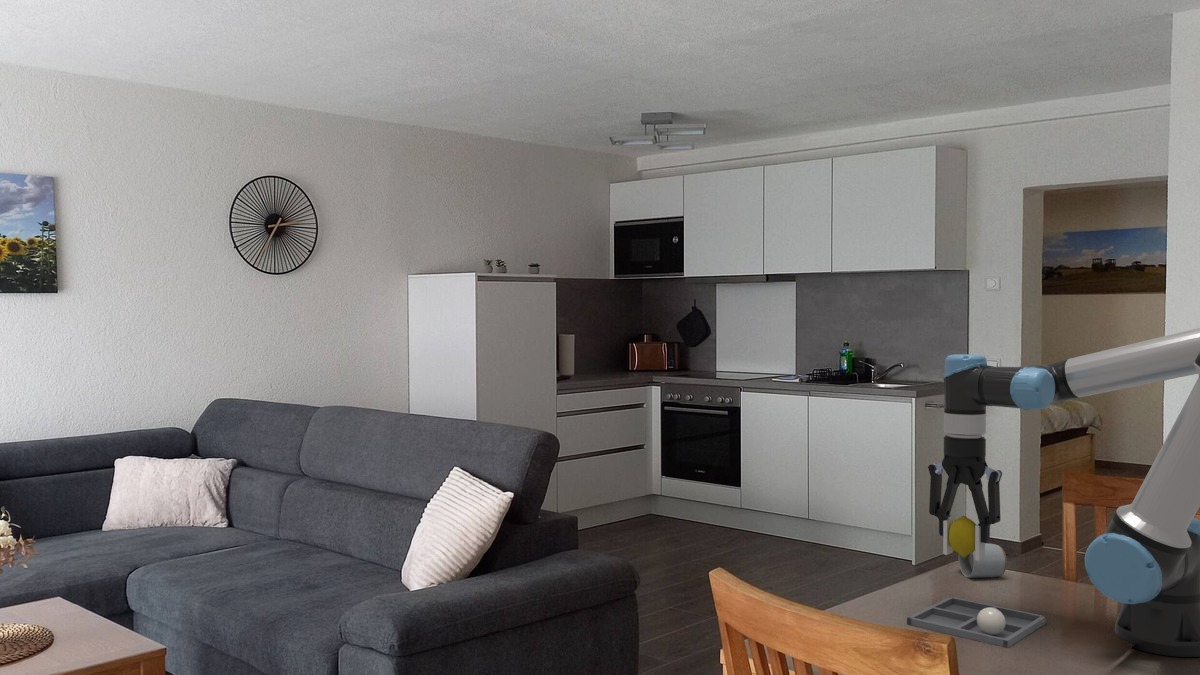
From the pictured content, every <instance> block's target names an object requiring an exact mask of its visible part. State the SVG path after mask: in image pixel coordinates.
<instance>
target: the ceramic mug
mask: <svg viewBox="0 0 1200 675" xmlns="http://www.w3.org/2000/svg"><path fill="white" fill-rule="evenodd" d="M1007 559H1008V558H1007V555H1006V552H1005V550H1004V548H1003V547H1001V545H998V544H994V543H989V542H987V543H985V558H984V559H982V560H979V561H978V560H975V551H974V552H973V553H971V554H968V555H967V556H966V557H962V556H961V555H960V554H959V553H958V565H959V568H960V569H959V570H960V571H961V573H962V575H963V576H964V577H965V578H968V579H969V578H971V579H973V578H975V579H976V578H998V577H1001V576H1003V575H1004V573H1005V572H1006V570H1007V566H1008V562H1007Z"/></svg>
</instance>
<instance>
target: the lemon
mask: <svg viewBox="0 0 1200 675" xmlns="http://www.w3.org/2000/svg"><path fill="white" fill-rule="evenodd" d="M976 525H977V524H976V522H975V521H974V520H972V519H971V518H969V517H967V516H966V515H962V516H961V517H959V518H956V519H954V520H953V523H952V524H951V526H950V530H949V542H950V545H951V547H952V548H953V552H956V553H957V554H958V555H959V554H960V555H961V556H962V557H966V556H967V555H968V554H971V553H973V552H974V551H975V526H976Z"/></svg>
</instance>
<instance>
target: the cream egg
mask: <svg viewBox="0 0 1200 675" xmlns="http://www.w3.org/2000/svg"><path fill="white" fill-rule="evenodd" d="M977 624H978V627H979V628H980V630H981V631H982V632H984V633H985V634H988V635H998V634H1000V633H1001V632H1002V631H1003V630H1004V628H1005V625H1006V621H1005V617H1004V615H1003V614H1002V613H1001V612H1000V611H999V610H998V609H995V608H992V607H988V608H984V609H982V610H981V611H980V612H979V613H978V616H977Z"/></svg>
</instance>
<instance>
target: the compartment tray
mask: <svg viewBox="0 0 1200 675" xmlns="http://www.w3.org/2000/svg"><path fill="white" fill-rule="evenodd" d="M988 607H992V608H995V609H998V610H999V611H1000V612H1001V613H1002V614H1003V615H1004V617H1005V621H1006V625H1005V628H1004V630H1003V631H1002V632H1001V633H1000V634H998V635H988V634H985V633H984V632H982V631H981V630H980V628H979V627H978V624H977V616H978V613H979V612H980V611H981V610H982V609H984V608H988ZM1047 623H1048V617H1047V615H1042V614H1036V613H1033V612H1028V611H1022V610H1017V609H1013V608H1007V607H1003V606H997V605H994V604H993V605H992V604H988V603H984V602H979V601H973V600H969V599H964V598H959V597H955V596H948V597H947V598H944V599H943V600H940V601H938V602H936V603H934V604H932V605H930V606H928V607H926V608H924V609H922V610H920V611H918V612H916V613H914V614H912V615H910V616H908V617H906V625H909V626H913V627H916V628H921V629H926V630H929V631H933V632H937V633H943V634H947V635H951V636H955V637H959V638H963V639H967V640H972V641H977V642H980V643H984V644H985V643H986V644H989V645H992V646H993V645H994V646H998V647H1002V648H1006V649H1009V648H1010V647H1012V646H1013V645H1015V644H1017V643H1018V642H1020V641H1021V640H1023V639H1024V638H1026V637H1027V636H1029V635H1031V634H1032V633H1034V632H1035V631H1037V630H1038V629H1040V628H1042V627H1043V626H1044V625H1046V624H1047Z"/></svg>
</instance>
